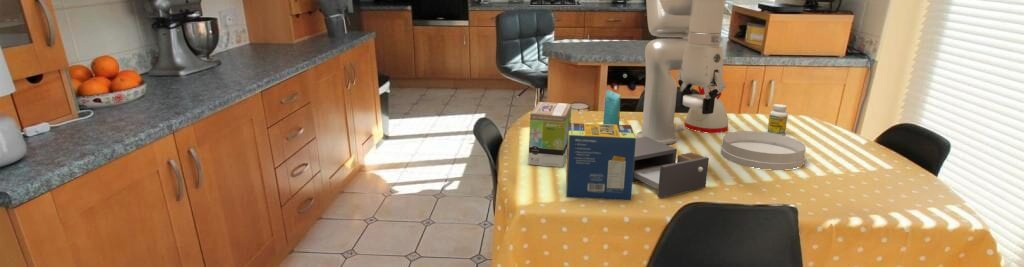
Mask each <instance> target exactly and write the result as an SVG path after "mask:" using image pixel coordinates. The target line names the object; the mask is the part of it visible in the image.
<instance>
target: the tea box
mask: <svg viewBox="0 0 1024 267" xmlns="http://www.w3.org/2000/svg"><path fill="white" fill-rule="evenodd" d="M529 115H530V116H529V141H528V162H527V164H528V165H533V166H542V167H553V168H554V167H555V168H563V166H564V164H565V162H566V161H567V146H568V129H569V123H572V122H571V121H572V120H571V119H572V118H571V117H572V104H571V103H563V102H561V103H560V102H548V101H538V102H537V104H536V105H535V107H534V108H533V110H532V111H530V114H529Z"/></svg>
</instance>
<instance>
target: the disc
mask: <svg viewBox="0 0 1024 267" xmlns="http://www.w3.org/2000/svg"><path fill="white" fill-rule="evenodd" d="M704 98H706V96H705V95H700V93H698V94H695V93H694V94H689V95H684V96H683V105H684V106H686V107H685V108H690V107H691V108H703V99H704Z"/></svg>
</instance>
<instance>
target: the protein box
mask: <svg viewBox="0 0 1024 267" xmlns="http://www.w3.org/2000/svg"><path fill="white" fill-rule="evenodd" d="M632 127H633V126H632V125H631V124H619V125H610V124H603V123H602V124H601V123H576V122H571V123H569V129H568V146H567V157H566V169H565V170H566V172H565V177H566V178H565V194H566V195H565V197H566V198H577V199H578V198H579V199H580V198H581V199H594V200H595V199H597V200H612V201H613V200H615V201H631V200H632V194H633V193H632V192H633V191H632V190H633V183H632V181H633V168H634V156H635V143H636V138H637V137H636V136H635V133H634V131H633V128H632Z"/></svg>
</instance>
